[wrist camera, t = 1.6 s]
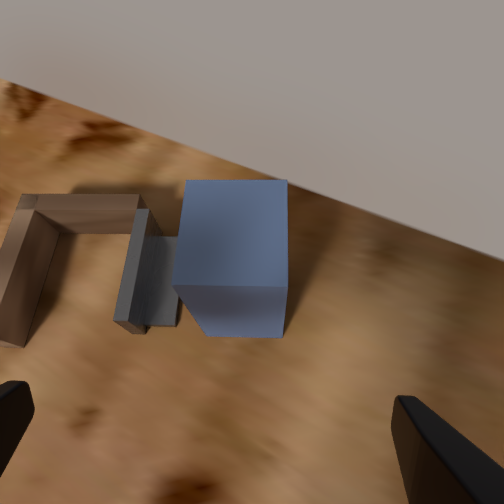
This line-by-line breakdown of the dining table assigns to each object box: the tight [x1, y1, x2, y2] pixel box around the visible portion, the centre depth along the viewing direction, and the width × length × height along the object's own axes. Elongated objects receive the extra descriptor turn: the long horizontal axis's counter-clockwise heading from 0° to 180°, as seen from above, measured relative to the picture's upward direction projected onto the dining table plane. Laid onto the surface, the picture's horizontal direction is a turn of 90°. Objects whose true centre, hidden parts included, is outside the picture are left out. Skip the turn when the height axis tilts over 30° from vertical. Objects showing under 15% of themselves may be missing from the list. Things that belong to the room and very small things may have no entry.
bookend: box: [113, 209, 180, 334], centre depth 22 cm, size 7×3×3 cm, turn 178°
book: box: [171, 180, 288, 338], centre depth 19 cm, size 5×4×8 cm
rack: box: [0, 194, 148, 348], centre depth 22 cm, size 9×8×3 cm
